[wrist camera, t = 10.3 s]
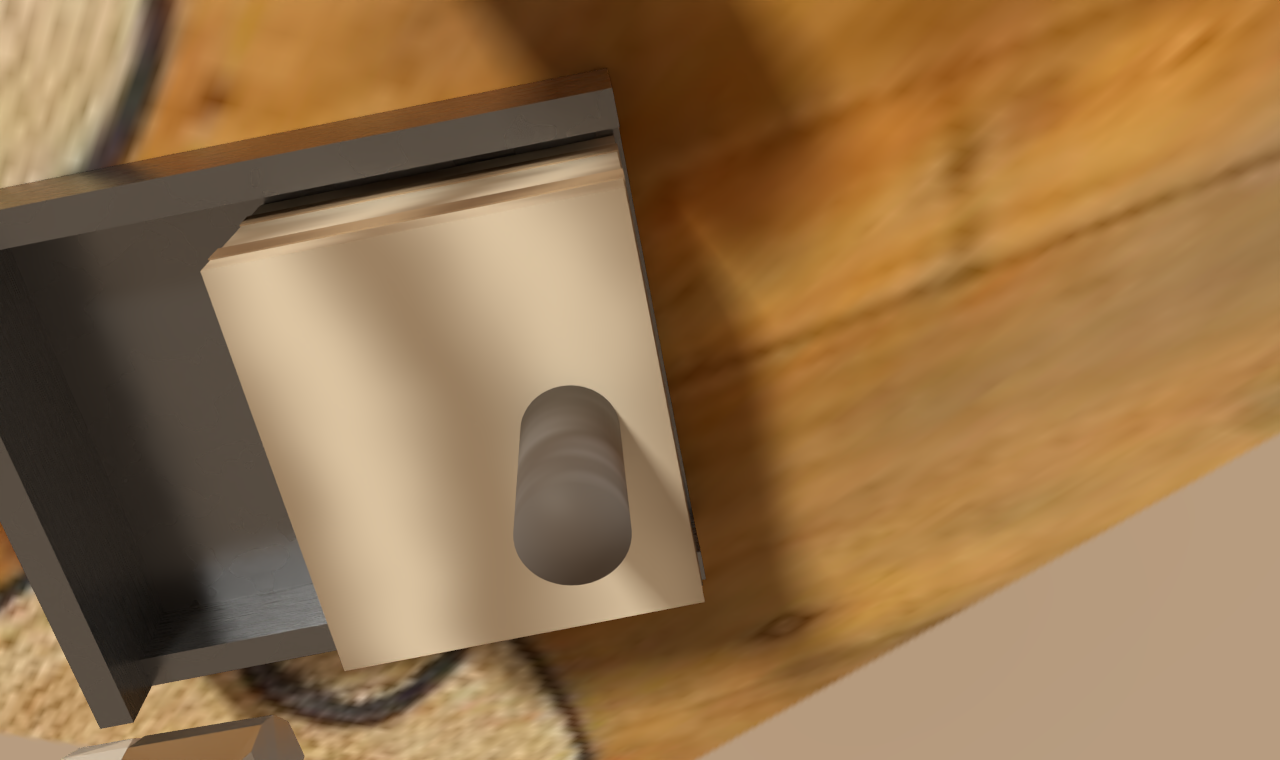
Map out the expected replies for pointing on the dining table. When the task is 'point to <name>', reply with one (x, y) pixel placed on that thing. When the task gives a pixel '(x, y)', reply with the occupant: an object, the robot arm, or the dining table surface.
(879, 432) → the dining table surface
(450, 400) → the beige knobbed block
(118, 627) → the bay
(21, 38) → the dining table surface
